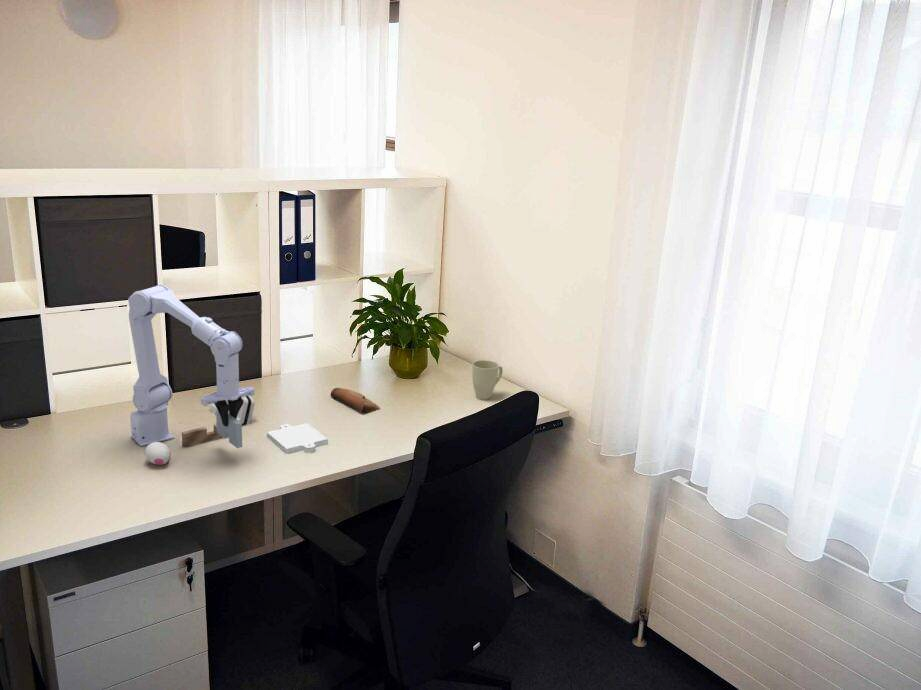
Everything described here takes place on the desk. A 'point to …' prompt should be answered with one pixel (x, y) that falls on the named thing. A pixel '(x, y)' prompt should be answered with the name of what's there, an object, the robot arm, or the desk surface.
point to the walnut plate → (199, 436)
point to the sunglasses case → (354, 400)
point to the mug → (485, 378)
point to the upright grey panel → (230, 430)
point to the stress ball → (157, 453)
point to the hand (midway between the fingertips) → (228, 424)
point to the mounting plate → (297, 438)
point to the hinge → (242, 409)
